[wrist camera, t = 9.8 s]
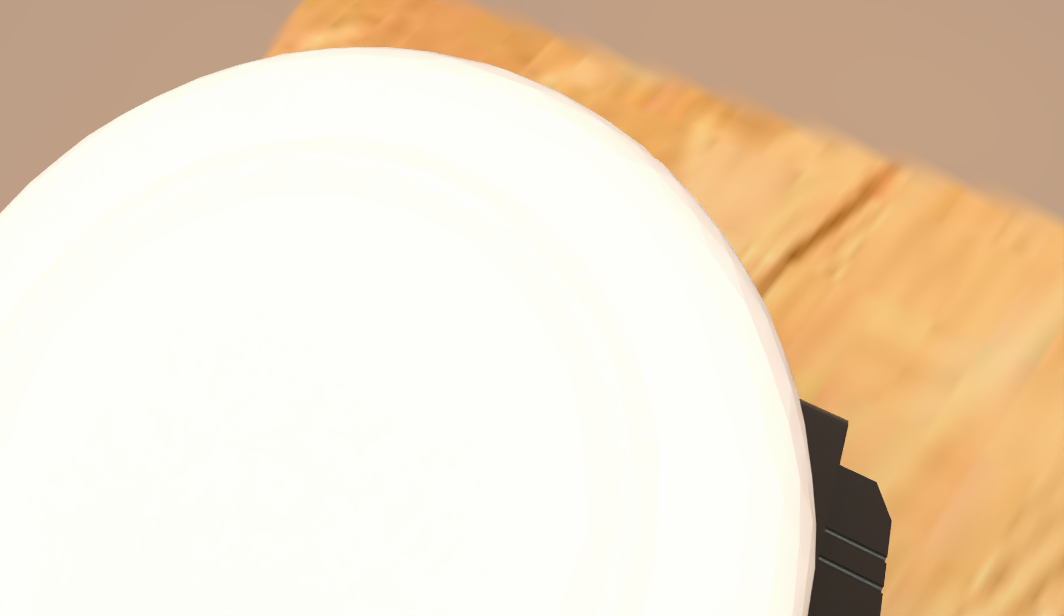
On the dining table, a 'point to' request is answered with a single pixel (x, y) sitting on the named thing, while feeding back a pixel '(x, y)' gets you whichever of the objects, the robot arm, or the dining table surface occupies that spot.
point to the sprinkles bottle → (387, 363)
